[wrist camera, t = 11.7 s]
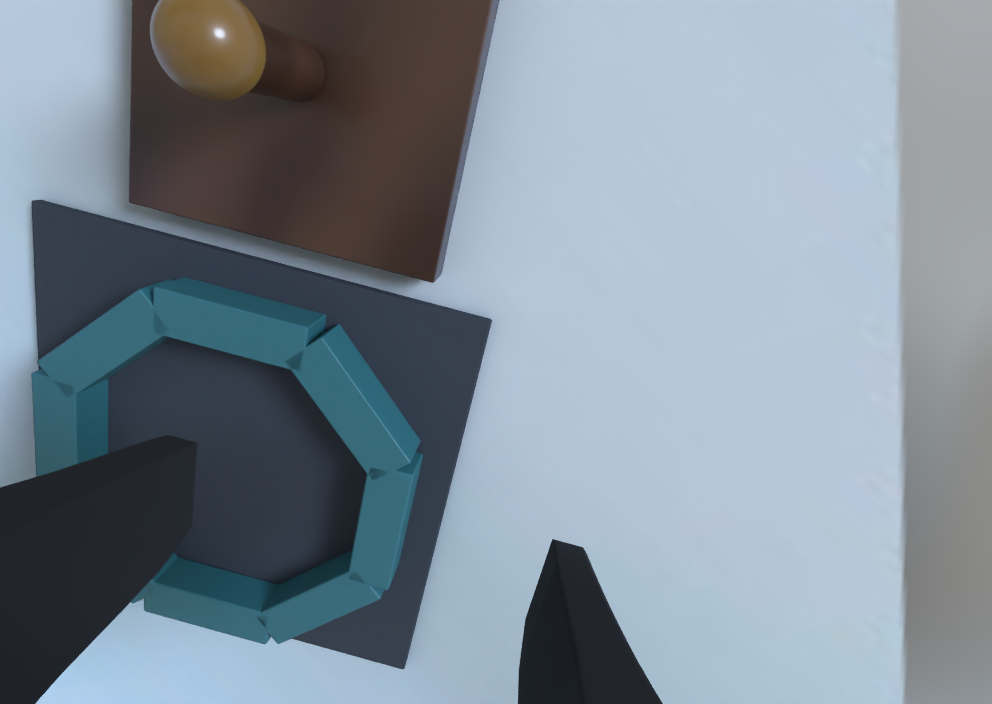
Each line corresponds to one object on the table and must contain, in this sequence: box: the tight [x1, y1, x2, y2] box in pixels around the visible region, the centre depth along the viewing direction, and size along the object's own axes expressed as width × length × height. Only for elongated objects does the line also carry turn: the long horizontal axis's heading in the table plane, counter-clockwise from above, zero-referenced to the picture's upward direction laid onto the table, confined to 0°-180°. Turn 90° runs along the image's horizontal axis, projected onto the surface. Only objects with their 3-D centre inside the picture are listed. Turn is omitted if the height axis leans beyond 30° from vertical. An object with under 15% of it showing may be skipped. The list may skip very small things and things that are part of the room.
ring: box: [32, 277, 423, 644], centre depth 21 cm, size 14×14×2 cm
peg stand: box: [129, 0, 499, 283], centre depth 14 cm, size 10×10×7 cm
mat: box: [32, 200, 492, 669], centre depth 22 cm, size 16×16×1 cm
